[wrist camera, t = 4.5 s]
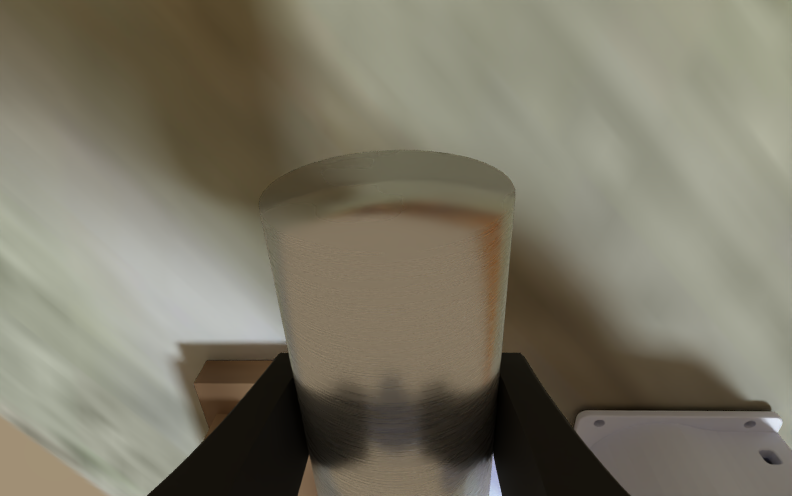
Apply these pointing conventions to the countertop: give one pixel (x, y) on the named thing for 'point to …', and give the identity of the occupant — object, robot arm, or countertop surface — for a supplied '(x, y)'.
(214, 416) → the cradle block
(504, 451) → the robot arm
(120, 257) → the countertop surface
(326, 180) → the steel axle
